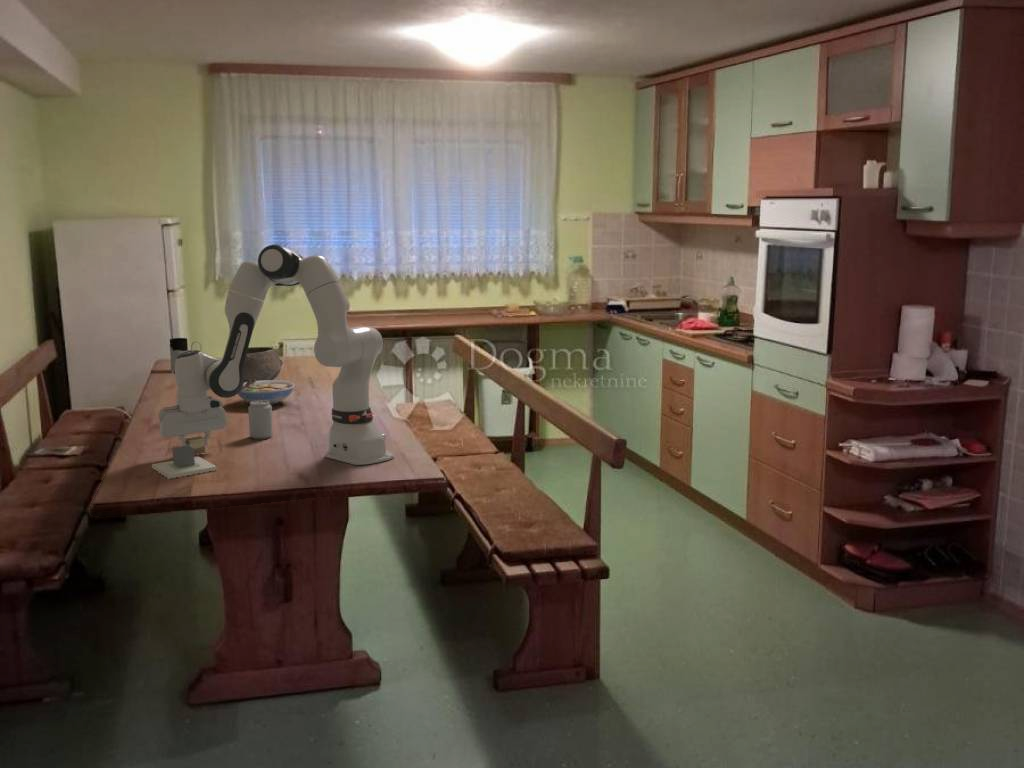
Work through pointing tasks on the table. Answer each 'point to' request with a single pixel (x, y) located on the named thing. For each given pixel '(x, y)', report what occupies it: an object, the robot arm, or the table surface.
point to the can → (260, 419)
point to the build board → (183, 468)
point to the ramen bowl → (266, 390)
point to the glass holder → (178, 349)
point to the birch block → (196, 444)
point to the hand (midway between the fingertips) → (194, 447)
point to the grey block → (183, 456)
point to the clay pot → (261, 364)
